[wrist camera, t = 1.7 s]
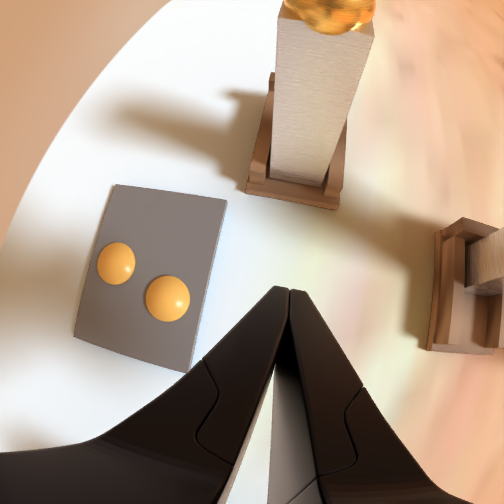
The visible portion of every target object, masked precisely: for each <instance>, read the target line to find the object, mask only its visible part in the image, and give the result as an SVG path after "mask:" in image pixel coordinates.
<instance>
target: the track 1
mask: <svg viewBox="0 0 504 504" xmlns="http://www.w3.org/2000/svg"><path fill="white" fill-rule="evenodd" d="M274 87H275V73H273V72H271V74H270V78H269V91H268V95H267V99H266V103H265V107H264V111H263V115H262V119H261V123H260V128H259V132H258V136H257V140H256V144H255V148H254V152H253V156H252V160H251V165H250V169H249V177H248V181H247V185H246V194H252V195H257V196H263V197H269V198H274V199H280V200H285V201H291V202H296V203H301V204H307V205H312V206H317V207H322V208H327V209H332V210H337V208H338V206H339V198H340V192H341V190H342V188H343V177H344V164H345V149H346V131H347V118H346V121H345V123H344V126H343V129H342V132H341V134H340V137H339V140H338V142H337V145H336V148H335V150H334V153H333V156H332V158H331V161H330V163H329V166H328V169H327V171H326V174H325V176H324V179H323V182H322V184H321V187H316V186H311V185H306V184H300V183H295V182H290V181H284V180H279V179H273V178H270V161H271V144H272V125H273V107H274Z"/></svg>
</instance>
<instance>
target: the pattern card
mask: <svg viewBox="0 0 504 504" xmlns="http://www.w3.org/2000/svg"><path fill="white" fill-rule="evenodd" d="M226 207H227V200H223V199H217V198H211V197H204V196H198V195H191V194H185V193H178V192H171V191H164V190H157V189H149V188H142V187H134V186H126V185H118V184H116V185H115V187H114V190H113V193H112V196H111V198H110V201H109V204H108V207H107V210H106V213H105V216H104V219H103V222H102V225H101V228H100V231H99V234H98V238H97V241H96V244H95V248H94V251H93V255H92V258H91V262H90V265H89V269H88V273H87V277H86V281H85V285H84V289H83V293H82V297H81V302H80V306H79V311H78V315H77V320H76V325H75V330H74V336H73V337H76V338H78V339H81V340H83V341H86V342H89V343H91V344H94V345H97V346H100V347H102V348H105V349H108V350H111V351H114V352H117V353H120V354H123V355H126V356H129V357H132V358H135V359H138V360H141V361H144V362H148V363H151V364H154V365H158V366H161V367H165V368H168V369H172V370H175V371H179V372H183V373H187V372H188V371H190V368H191V363H192V358H193V353H194V349H195V344H196V339H197V334H198V329H199V325H200V320H201V315H202V311H203V306H204V302H205V297H206V292H207V288H208V284H209V279H210V275H211V270H212V266H213V262H214V257H215V253H216V249H217V245H218V240H219V236H220V232H221V228H222V224H223V220H224V215H225V211H226Z"/></svg>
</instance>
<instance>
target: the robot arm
mask: <svg viewBox="0 0 504 504" xmlns="http://www.w3.org/2000/svg"><path fill="white" fill-rule="evenodd" d="M274 367H275V369H274ZM273 370H274V384H273V408H272V430H271V449H270V467H269V484H268V499H267V504H473V503H470V502H468V501H465V500H463V499H460V498H458V497H455V496H453V495H451V494H448V493H447V492H445V491H443V490H442V489H441V488H439V487H438V486H437V485H436V484H435V483H434V482H433V481H432V480H431V479H430V478H429V477H428V476H427V475H426V473H425V472H424V471H423V469H422V468H421V467H420V465H419V464H418V463H417V461H416V460H415V459H414V458H413V456H412V455H411V454H410V452H409V451H408V450H407V448H406V447H405V446H404V444H403V443H402V442H401V440H400V439H399V438H398V436H397V435H396V434H395V432H394V431H393V430H392V428H391V427H390V425H389V424H388V423H387V421H386V420H385V418H384V417H383V415H382V414H381V412H380V411H379V409H378V407H377V406H376V404H375V403H374V401H373V400H372V398H371V396H370V395H369V393H368V391H367V390H366V388H365V387H363V383H362V381H361V380H360V378H359V376H358V375H357V373H356V371H355V370H354V368H353V367H352V365H351V363H350V362H349V360H348V358H347V357H346V355H345V353H344V352H343V350H342V348H341V347H340V345H339V344H338V342H337V340H336V339H335V337H334V335H333V334H332V332H331V331H330V329H329V327H328V326H327V324H326V322H325V321H324V319H323V318H322V316H321V314H320V313H319V311H318V310H317V308H316V306H315V305H314V303H313V302H312V300H311V298H310V297H309V295H308V294H307V292H305V291H302V290H296V289H291V290H290V291H289V289H288V288H285V287H280V286H273V287H272V288H271V289H270V290H269V291H268V292H267V293H266V294H265V295H264V296H263V297H262V298H261V299H260V300H259V301H258V302H257V303H256V304H255V305H254V307H253V308H252V309H251V310H250V311H249V312H248V313H247V314H246V315H245V316H244V317H243V318H242V319H241V320H240V321H239V322H238V323H237V324H236V325H235V326H234V327H233V328H232V329H231V330H230V331H229V332H228V333H227V334H226V335H225V336H224V337H223V338H222V339H221V340H220V341H219V342H218V343H217V344H216V345H215V346H214V347H213V348H212V349H211V350H210V351H209V352H208V353H207V354H206V355H205V356H204V357H203V358H202V360H200V361H199V362H198V363H197V364H196V365H195V366H194V367H193V368H192V369H191V370H190V371H188V372H187V373H186V374H185V375H184V376H183V377H182V378H181V379H180V380H178V381H177V382H176V383H175V384H174V385H173V386H171V387H170V388H169V389H167V390H166V391H165V392H163V393H162V394H161V395H160V396H158V397H157V398H156V399H154V400H153V401H151V402H150V403H148V404H147V405H146V406H144V407H143V408H141V409H140V410H138V411H137V412H135V413H134V414H133V415H131V416H130V417H128V418H127V419H125V420H124V421H122V422H121V423H119V424H118V425H116V426H115V427H113V428H112V429H110V430H109V431H107V432H105V433H104V434H102V435H100V436H98V437H96V438H93V439H91V440H88V441H85V442H82V443H78V444H73V445H67V446H60V447H53V448H45V449H37V450H27V451H16V452H1V453H0V504H225V503H226V501H227V498H228V496H229V493H230V491H231V488H232V486H233V483H234V481H235V478H236V476H237V473H238V470H239V468H240V465H241V462H242V460H243V457H244V454H245V452H246V449H247V446H248V444H249V441H250V438H251V435H252V433H253V430H254V427H255V424H256V421H257V418H258V416H259V413H260V410H261V407H262V404H263V401H264V398H265V395H266V392H267V389H268V386H269V383H270V380H271V377H272V374H273Z"/></svg>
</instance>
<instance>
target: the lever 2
mask: <svg viewBox="0 0 504 504" xmlns="http://www.w3.org/2000/svg"><path fill="white" fill-rule="evenodd" d="M464 292H466V293H471V294H477V295H482V296H487V297H489V296H493V295H497V294H501V293H504V227H503V228H501V229H499V230H498V231H496V232H494V233H492V234H490V235H488V236H486V237H484V238H483V239H481V240H479V241H477V242H475V243H473V244H471V245H469V246H467V247H465V281H464Z"/></svg>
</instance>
